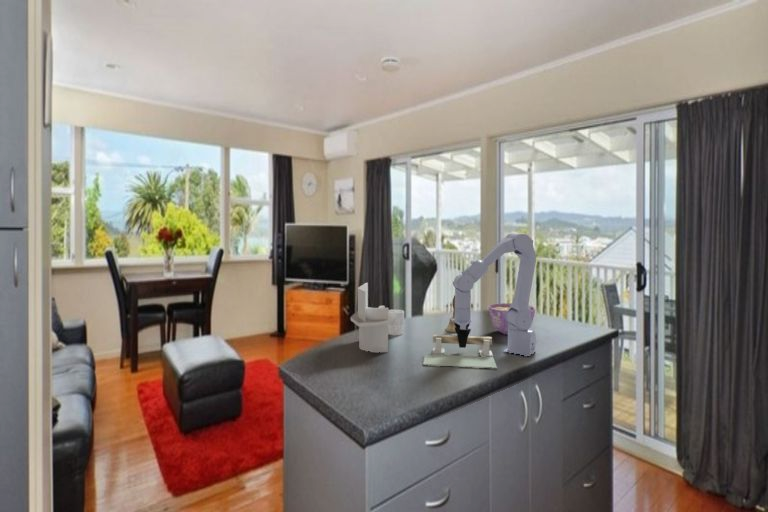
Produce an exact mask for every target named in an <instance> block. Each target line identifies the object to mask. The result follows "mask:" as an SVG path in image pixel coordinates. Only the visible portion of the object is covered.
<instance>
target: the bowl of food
mask: <svg viewBox="0 0 768 512" xmlns="http://www.w3.org/2000/svg"><path fill="white" fill-rule="evenodd" d="M511 303H512V302H511ZM511 303H509V302H508V303H505V302H504V303H501V302H500V303H492V304H490V305H488V307H487V308H488V312H489V316H490V321H491V324H492V326H493V327H494V329H495V330H497V331H498V332H500V333H501V334H502V333H503V335H505V334H506V336H508V325H509V323H508V322H507V321H506V313H507V311H508V310H509V307H510V304H511ZM529 307H530V310H531V319H532V323H531V325H530V327H529V328H528V329H529V330H530V328H531V327H532V324H533V321H534V317H535V314H536V310H537V309H536V307H535V306H531V305H529Z"/></svg>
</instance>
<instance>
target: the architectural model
mask: <svg viewBox="0 0 768 512" xmlns="http://www.w3.org/2000/svg"><path fill="white" fill-rule="evenodd" d="M368 285H369V283H368V282H365V283H363V284H362V285H360V286H358V287H357V311H355V313H353V314H352V315H351V316H350V321H351V322H353V324H355V325H356V326H357V327H358V331H359V332H358V333H359V334H358V336H359V339H358V340H359V341H358V347H359V349H360V350H362V351H364V350H365V352H368V351H370V352H369V353H379V352H380V353H389V334H388V325H389V324H396V320H395V319H394V318H392V317H391V316H389V310H390V309H389V307H386V306H385V305H378V307H370V306H369V300H368V299H369V294H368V293H369V286H368Z"/></svg>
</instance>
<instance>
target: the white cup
mask: <svg viewBox="0 0 768 512" xmlns="http://www.w3.org/2000/svg"><path fill="white" fill-rule="evenodd" d="M389 316H391V317H392V318H394V319H395V320H396V324H389V325H388V336H395V337H396V336H401V335H403V333H404V323H405V322H404V321H405V311H404V310H403V309H389Z"/></svg>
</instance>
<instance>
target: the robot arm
mask: <svg viewBox="0 0 768 512" xmlns="http://www.w3.org/2000/svg"><path fill="white" fill-rule="evenodd" d="M506 253H508V254H509V253H514V254H515V256H517V257H518V259H519V261H520V262H519V267H518V270H517V271H518V272H517V278H516V285H515V290H514V295H513V300H512V302H511V304H510V307H509V310H508V311H507V313H506V321H507V322H508V323H509V325H508V335H507V348H505V349H504V350H503V351H504V352H503V353H506V352H509V353H508V354H511V353H514V354H513V355H516V354H520V355H519V356H521V355H524V356H523V357H527V356H529V357H530V356H532V355H534V354H535V353H536V352H537V351H536V332H535V330H531V329H530V328H531V327H530V325H531V326H532V324H533V321H532V319H531V310H530V307H529V306H530V305H529V301H530V296H531V290H532V285H533V279H534V274H535V268H536V262H537V254H536V250H535V247H534V240H533V239H532V238H531V237H530V236H529V235H528V234H527V233H523V232H522V233H515V232H511V233H508V234H507V236H506V237H504V238H502V239H501V240H500V241H499V242H498V243H497V244H496V246H494V247H493V248H492V249H491V251H489V252H488V253H487V254H486V255H485V256H484V257H483V259H481V260H479V259H477V260H472V262H470V264H471V265H469V266H468V267H467V268H466V269H464V270H462V271H461V274H459V275H458V274H457V275H456V276H455V277H454V278H453V279H454V280H453V281H452V286H453V287H454V295H455V319H451V321H452V322H455V323H454V324H455V326H456V327H455V331H456V332H455V334H456V336H458V342H459V344H458V346H459V348H460V349H461V348H464V349H465V348H466V347H467V344H466V343H467V338H468V336H470V333H471V331H472V328H469V327H470V326H471V323H472V320H471V313H472V312H471V306H472V305H471V303H472V302H471V301H472V299H471V298H472V296H471V291H472V289H473V288H474V287H475V286H474V285H475V284H476V283H477V282H478V281H479V280H480V279H481V278H482V277H483V276H485V274H487V273H488V272H489V270H488V269H489V266H491V265H492V264H493V263H494V262H496V261H497V260H498V259H499V258H500V257H502V256H503V255H504V254H506ZM531 323H532V324H531ZM529 327H530V328H529ZM528 328H529V329H528ZM534 352H535V353H534ZM531 354H532V355H531Z"/></svg>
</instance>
